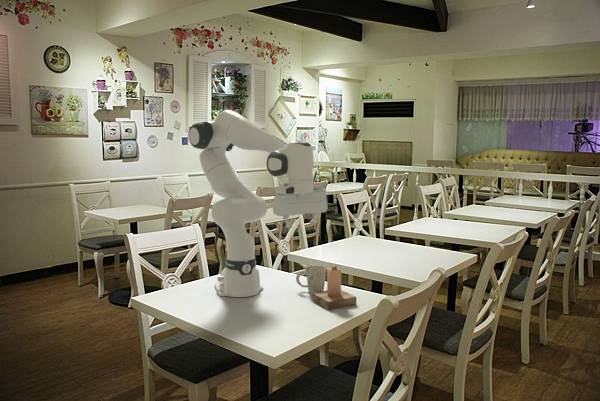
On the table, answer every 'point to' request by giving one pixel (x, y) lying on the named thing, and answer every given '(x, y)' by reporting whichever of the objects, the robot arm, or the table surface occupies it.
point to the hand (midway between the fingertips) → (300, 226)
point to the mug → (314, 278)
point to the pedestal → (334, 300)
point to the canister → (334, 281)
